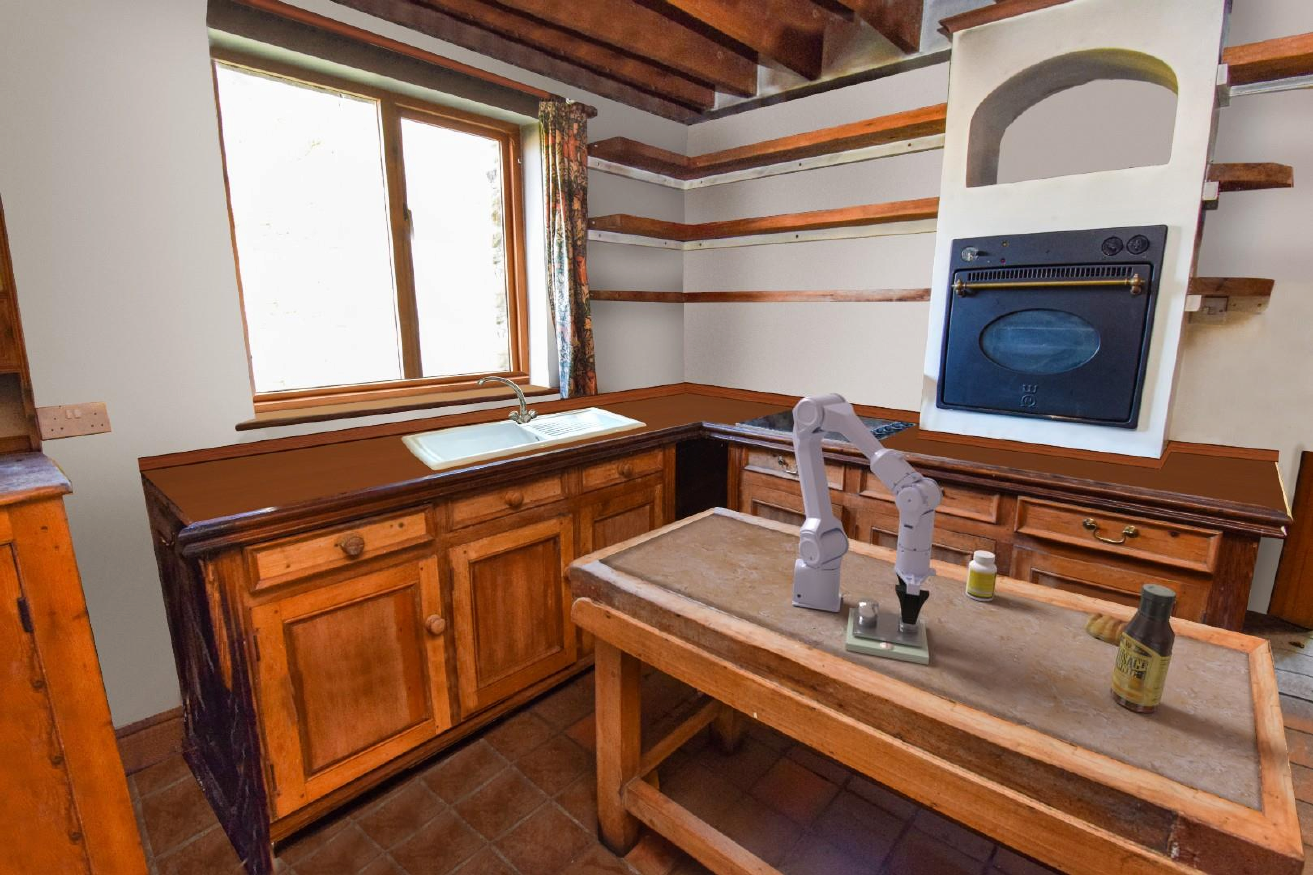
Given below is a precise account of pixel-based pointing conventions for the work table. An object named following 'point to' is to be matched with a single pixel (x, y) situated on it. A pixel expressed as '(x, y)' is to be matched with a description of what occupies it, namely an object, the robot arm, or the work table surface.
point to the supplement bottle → (981, 576)
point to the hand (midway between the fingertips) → (907, 613)
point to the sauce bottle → (1145, 652)
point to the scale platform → (886, 630)
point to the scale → (887, 645)
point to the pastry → (1105, 628)
